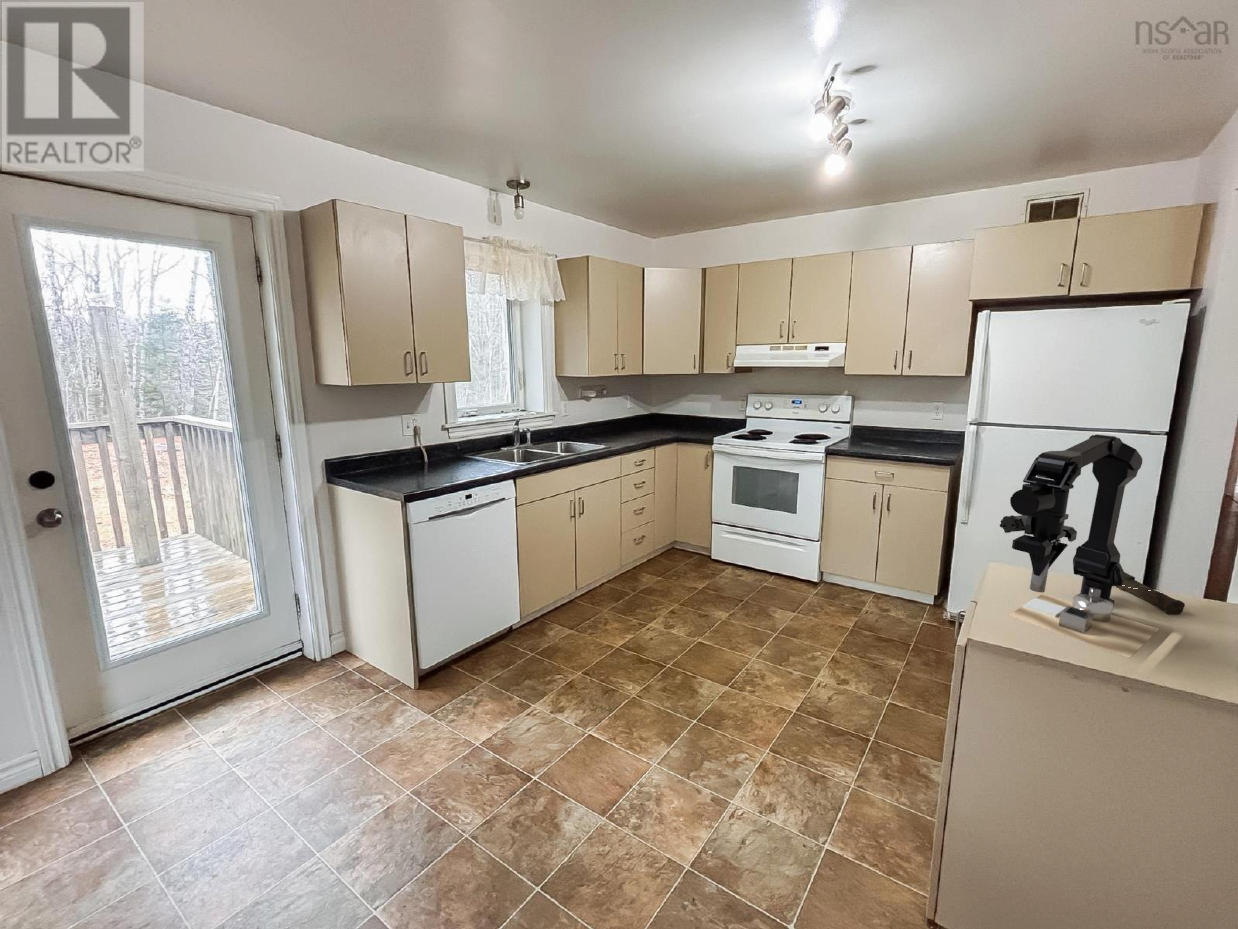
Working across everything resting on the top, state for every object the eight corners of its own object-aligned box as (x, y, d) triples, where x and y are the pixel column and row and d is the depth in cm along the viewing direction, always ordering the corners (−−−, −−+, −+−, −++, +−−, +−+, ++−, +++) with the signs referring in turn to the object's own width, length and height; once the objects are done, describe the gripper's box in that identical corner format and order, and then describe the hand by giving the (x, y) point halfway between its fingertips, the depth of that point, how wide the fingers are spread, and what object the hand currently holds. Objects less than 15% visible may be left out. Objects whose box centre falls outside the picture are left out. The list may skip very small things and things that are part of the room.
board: (1041, 599, 140) (1042, 593, 140) (1157, 635, 122) (1159, 628, 122) (1007, 621, 129) (1007, 615, 129) (1128, 664, 111) (1129, 657, 111)
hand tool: (1184, 616, 130) (1188, 598, 129) (1166, 616, 131) (1170, 598, 130) (1119, 583, 149) (1122, 567, 148) (1104, 583, 149) (1107, 567, 148)
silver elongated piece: (1078, 604, 133) (1082, 580, 132) (1115, 616, 127) (1119, 590, 126) (1052, 623, 125) (1056, 597, 123) (1090, 636, 119) (1095, 609, 118)
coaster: (1034, 600, 136) (1034, 597, 136) (1065, 609, 131) (1066, 607, 131) (1023, 607, 133) (1023, 604, 133) (1055, 617, 128) (1055, 615, 127)
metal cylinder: (1032, 586, 128) (1038, 546, 125) (1046, 590, 125) (1053, 549, 123) (1027, 589, 126) (1033, 548, 124) (1041, 593, 124) (1048, 552, 122)
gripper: (1025, 494, 133) (1017, 554, 136) (990, 507, 123) (982, 571, 126) (1082, 505, 124) (1071, 568, 127) (1049, 520, 114) (1038, 588, 117)
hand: (1039, 573), depth 125 cm, fingers closed on metal cylinder, 3 cm apart
